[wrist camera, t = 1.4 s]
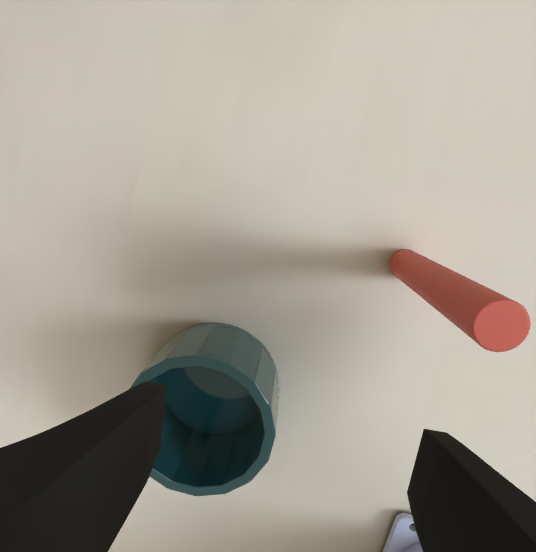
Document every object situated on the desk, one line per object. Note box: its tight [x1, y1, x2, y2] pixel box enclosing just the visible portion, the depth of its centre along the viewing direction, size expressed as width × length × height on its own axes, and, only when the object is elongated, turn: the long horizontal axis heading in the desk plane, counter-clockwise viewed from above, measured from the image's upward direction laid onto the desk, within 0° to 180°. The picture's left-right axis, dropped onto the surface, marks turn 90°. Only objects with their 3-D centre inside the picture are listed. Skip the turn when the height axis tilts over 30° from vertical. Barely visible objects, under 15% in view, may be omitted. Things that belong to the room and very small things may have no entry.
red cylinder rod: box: [390, 249, 530, 352], centre depth 15 cm, size 2×2×10 cm
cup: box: [130, 323, 279, 496], centre depth 20 cm, size 7×7×4 cm
